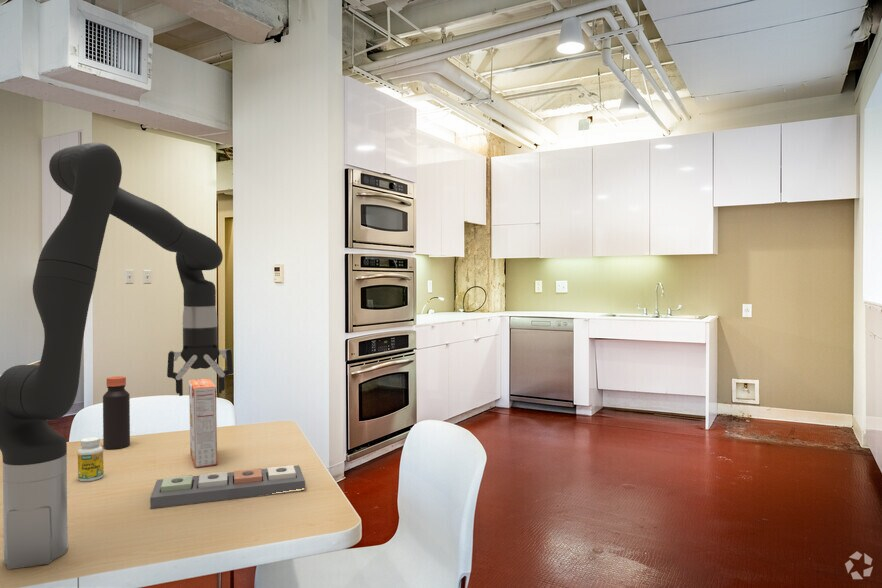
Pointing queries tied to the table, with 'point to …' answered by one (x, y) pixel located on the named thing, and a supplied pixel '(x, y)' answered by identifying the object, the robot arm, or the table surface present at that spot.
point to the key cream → (281, 473)
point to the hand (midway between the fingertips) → (200, 394)
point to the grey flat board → (224, 490)
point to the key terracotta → (247, 476)
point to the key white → (212, 480)
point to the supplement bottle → (90, 460)
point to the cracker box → (203, 422)
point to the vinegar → (116, 414)
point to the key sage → (177, 483)
